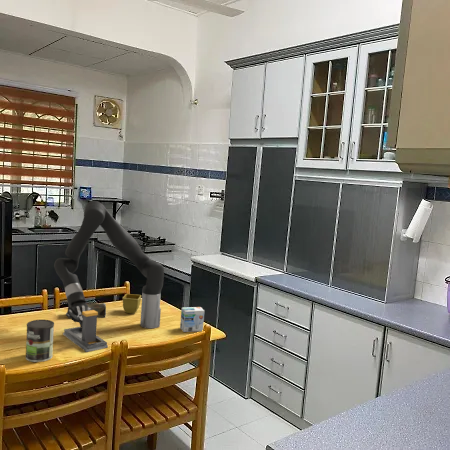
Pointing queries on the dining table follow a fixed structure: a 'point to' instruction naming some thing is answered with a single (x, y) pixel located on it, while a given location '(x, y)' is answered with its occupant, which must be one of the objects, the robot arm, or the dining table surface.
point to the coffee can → (39, 340)
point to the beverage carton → (97, 309)
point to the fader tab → (89, 325)
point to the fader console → (76, 338)
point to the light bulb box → (192, 319)
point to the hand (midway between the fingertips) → (85, 328)
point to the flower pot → (131, 303)
